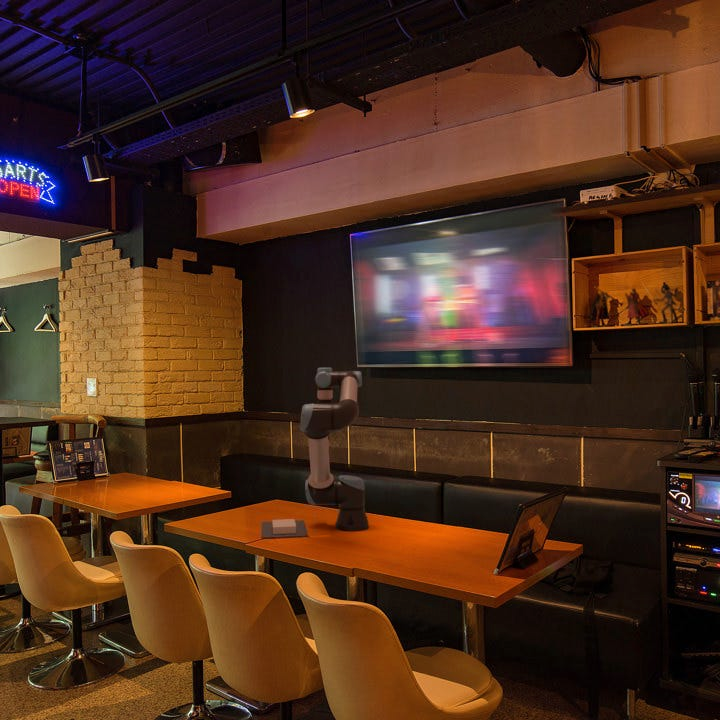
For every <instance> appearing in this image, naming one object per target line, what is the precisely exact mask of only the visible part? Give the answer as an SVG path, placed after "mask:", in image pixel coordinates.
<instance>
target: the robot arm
mask: <svg viewBox="0 0 720 720" xmlns="http://www.w3.org/2000/svg"><path fill="white" fill-rule="evenodd" d="M314 380H315V384H316V385H317V393H316V394H317V403H308V404H307V403H305V404H304V405H302V408H301V415H300V426H299V430H300V432H303V433H304V436H305V437H306V438H307V439H308V442H307V443H308V455H309V463H310V467H309V468H310V474H309V476H308V478H307V479H305V484H304V489H305V497H306V500H307V501H306V502H308V504H309V505H314V506H315V505H316V506H321V505H322V506H323V505H325V506H326V505H327V506H328V505H329V506H330V505H332V506H333V505H338V507H339V509H338V513H337V518H336V521H335V529H337V530H340V531H346V532H347V531H348V532H355V531H356V532H357V531H364V530H367V529H369V525H370V524H369V520H368V519H369V518H368V517H367V514H366V510H365V508H366V507H365V490H366V489H365V480H364V479H363V478H361V477H359V476H355V475H347V474H345V475H343V474H342V475H339V476H338V478H334V475H333V474H332V473H331V468H330V467H331V466H330V451H329V449H330V448H329V447H330V435H331V433H333V432H335V431H336V432H339V431H342V430H345V429H347V428H349V427H350V426H351V425H353V423H354V422H355V421H356V420H357V418H358V417H359V413H360V407H359V404H358V388H360V387H362V385H363V378H362V372H361V371H359V370H357V371H356V370H350V371H349V370H348V371H346V370H345V371H338V370H337V371H333V368H332V367H318V368H317V372H316V375H315V378H314ZM333 388H340V395H339V396H340V397H339V402H338V403H334V400H333V393H334V392H333V390H334V389H333Z"/></svg>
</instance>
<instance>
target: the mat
mask: <svg viewBox="0 0 720 720" xmlns="http://www.w3.org/2000/svg"><path fill="white" fill-rule="evenodd" d="M295 523H296V533H295V534H278V535H274V534H273V524H272V521H261V525H260V527H261V529H260V530H261V531H260V533H261V534H260V535H261V536H260V537H261V538H260V540H275V539H276V540H277V539H297V538H299V539H300V538H309V532H308V530H307V525H306V521H305V520H304V519H300V520H297V519H296V520H295Z"/></svg>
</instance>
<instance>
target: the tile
mask: <svg viewBox="0 0 720 720" xmlns="http://www.w3.org/2000/svg"><path fill="white" fill-rule="evenodd" d="M272 524H273V534H274V535H278V534H295V533H296V523H295V518H290V519H287V518H286V519H272Z"/></svg>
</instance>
